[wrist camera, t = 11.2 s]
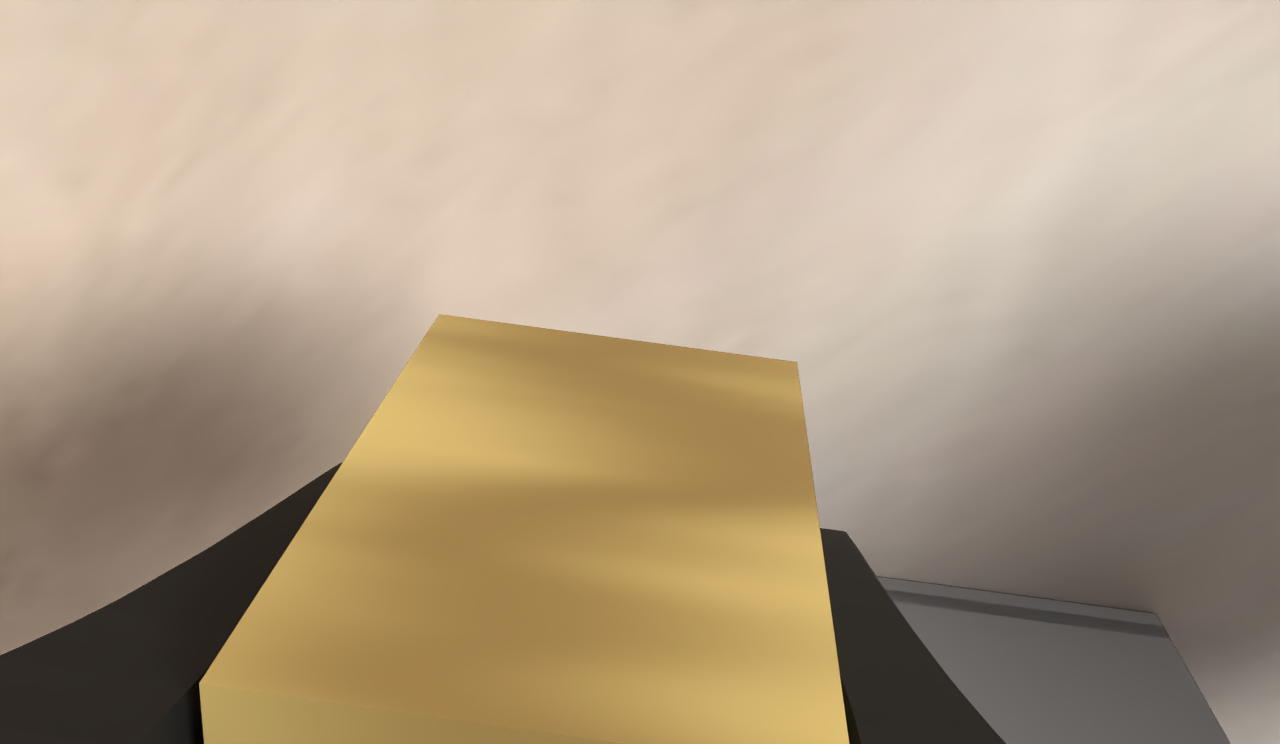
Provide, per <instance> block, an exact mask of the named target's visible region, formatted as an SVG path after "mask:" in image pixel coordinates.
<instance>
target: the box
mask: <svg viewBox="0 0 1280 744" xmlns="http://www.w3.org/2000/svg"><path fill="white" fill-rule="evenodd" d="M876 577H877V576H876ZM877 578H878V580H879V581H880V583H881V584H882V586H883V587H884V588H885V590H886V591H887V593H888V594H889V596H890V597H891V599H892V600H893V602H894V603H895V604H896V606H897V607H898V609H899V610H900V612H901V613H902V615H903V616H904V617H905V619H906V620H907V622H908V623H909V624H910V626H911V627H912V629H913V630H914V631H915V633H916V634H917V635H918V637H919V638H920V639H921V641H922V642H923V643H924V645H925V646H926V647H927V649H928V650H929V651H930V653H931V654H932V655H933V657H934V658H935V659H936V661H937V662H938V663H939V665H940V666H941V667H942V669H943V670H944V671H945V673H946V674H947V675H948V676H949V678H950V679H951V680H952V681H953V683H954V684H955V685H956V686H957V688H958V689H959V690H960V691H961V692H962V693H963V695H964V696H965V697H966V698H967V699H968V700H969V702H970V703H971V704H972V705H973V706H974V707H975V709H976V710H977V711H978V712H979V713H980V714H981V716H982V717H983V718H984V719H985V720H986V721H987V723H988V724H989V725H990V726H991V727H992V728H993V730H994V731H995V732H996V733H997V734H998V735H999V736H1000V737H1001V738H1002V740H1003V741H1004V742H1005V743H1006V744H1231V743H1230V742H1229V740H1228V738H1227V736H1226V735H1225V733H1224V731H1223V729H1222V728H1221V726H1220V724H1219V722H1218V721H1217V719H1216V717H1215V715H1214V714H1213V712H1212V710H1211V708H1210V707H1209V705H1208V703H1207V701H1206V700H1205V698H1204V696H1203V694H1202V693H1201V691H1200V689H1199V688H1198V686H1197V684H1196V682H1195V681H1194V679H1193V677H1192V675H1191V674H1190V672H1189V670H1188V668H1187V667H1186V665H1185V663H1184V661H1183V660H1182V658H1181V656H1180V654H1179V653H1178V651H1177V649H1176V647H1175V646H1174V644H1173V642H1172V640H1171V639H1170V637H1169V635H1168V633H1167V632H1166V630H1165V628H1164V626H1163V625H1162V623H1161V621H1160V620H1159V618H1158V616H1157V614H1153V613H1146V612H1138V611H1131V610H1123V609H1116V608H1109V607H1101V606H1094V605H1086V604H1079V603H1071V602H1064V601H1056V600H1049V599H1041V598H1034V597H1026V596H1019V595H1011V594H1004V593H997V592H989V591H982V590H974V589H967V588H959V587H952V586H944V585H937V584H929V583H922V582H914V581H907V580H900V579H892V578H885V577H877Z"/></svg>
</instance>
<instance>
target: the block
mask: <svg viewBox="0 0 1280 744" xmlns="http://www.w3.org/2000/svg"><path fill="white" fill-rule="evenodd" d="M199 688H200V701H201V713H202V725H203V737H204V744H849V737H848V730H847V723H846V716H845V708H844V701H843V694H842V686H841V679H840V672H839V665H838V657H837V650H836V643H835V635H834V628H833V621H832V614H831V606H830V599H829V592H828V584H827V577H826V570H825V563H824V555H823V548H822V541H821V533H820V526H819V519H818V511H817V504H816V497H815V490H814V482H813V475H812V468H811V460H810V453H809V446H808V439H807V431H806V424H805V417H804V409H803V402H802V395H801V388H800V380H799V373H798V366H797V362H792V361H785V360H777V359H770V358H762V357H755V356H747V355H740V354H732V353H725V352H717V351H710V350H702V349H695V348H687V347H680V346H672V345H665V344H658V343H650V342H643V341H635V340H628V339H620V338H613V337H605V336H598V335H590V334H583V333H575V332H568V331H560V330H553V329H545V328H538V327H530V326H523V325H515V324H508V323H500V322H493V321H485V320H478V319H470V318H463V317H455V316H448V315H441V314H439V315H438V317H437V318H436V320H435V322H434V323H433V325H432V326H431V328H430V329H429V331H428V332H427V334H426V335H425V337H424V338H423V340H422V342H421V343H420V345H419V346H418V348H417V349H416V351H415V352H414V354H413V355H412V357H411V358H410V360H409V362H408V363H407V365H406V366H405V368H404V369H403V371H402V372H401V374H400V375H399V377H398V378H397V380H396V382H395V383H394V385H393V386H392V388H391V389H390V391H389V392H388V394H387V395H386V397H385V398H384V400H383V402H382V403H381V405H380V406H379V408H378V409H377V411H376V412H375V414H374V415H373V417H372V418H371V420H370V421H369V423H368V425H367V426H366V428H365V429H364V431H363V432H362V434H361V435H360V437H359V438H358V440H357V441H356V443H355V445H354V446H353V448H352V449H351V451H350V452H349V454H348V455H347V457H346V458H345V460H344V461H343V463H342V465H341V466H340V468H339V469H338V471H337V472H336V474H335V475H334V477H333V478H332V480H331V481H330V483H329V485H328V486H327V488H326V489H325V491H324V492H323V494H322V495H321V497H320V498H319V500H318V501H317V503H316V505H315V506H314V508H313V509H312V511H311V512H310V514H309V515H308V517H307V518H306V520H305V521H304V523H303V525H302V526H301V528H300V529H299V531H298V532H297V534H296V535H295V537H294V538H293V540H292V541H291V543H290V545H289V546H288V548H287V549H286V551H285V552H284V554H283V555H282V557H281V558H280V560H279V561H278V563H277V565H276V566H275V568H274V569H273V571H272V572H271V574H270V575H269V577H268V578H267V580H266V581H265V583H264V585H263V586H262V588H261V589H260V591H259V592H258V594H257V595H256V597H255V598H254V600H253V601H252V603H251V605H250V606H249V608H248V609H247V611H246V612H245V614H244V615H243V617H242V618H241V620H240V621H239V623H238V625H237V626H236V628H235V629H234V631H233V632H232V634H231V635H230V637H229V638H228V640H227V641H226V643H225V645H224V646H223V648H222V649H221V651H220V652H219V654H218V655H217V657H216V658H215V660H214V661H213V663H212V665H211V666H210V668H209V669H208V671H207V672H206V674H205V675H204V677H203V678H202V680H201V681H200V683H199Z"/></svg>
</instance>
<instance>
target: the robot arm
mask: <svg viewBox="0 0 1280 744" xmlns="http://www.w3.org/2000/svg"><path fill="white" fill-rule="evenodd" d="M342 463H343V462H342ZM342 463H340V464H338V465H337V466H335V467H333V468H332V469H330V470H329V471H327V472H325V473H324V474H322V475H321V476H319V477H318V478H316V479H315V480H313V481H312V482H310V483H309V484H307V485H306V486H304V487H303V488H301V489H300V490H298V491H297V492H295V493H294V494H292V495H291V496H289V497H287V498H286V499H284V500H283V501H281V502H280V503H278V504H277V505H275V506H274V507H272V508H271V509H269V510H268V511H266V512H265V513H263V514H262V515H260V516H258V517H257V518H255V519H254V520H252V521H251V522H249V523H247V524H246V525H244V526H243V527H241V528H240V529H238V530H236V531H235V532H233V533H232V534H230V535H229V536H227V537H225V538H224V539H222V540H221V541H219V542H218V543H216V544H214V545H213V546H211V547H210V548H208V549H206V550H205V551H203V552H201V553H199V554H198V555H196V556H194V557H192V558H191V559H189V560H187V561H185V562H184V563H182V564H180V565H178V566H177V567H175V568H173V569H171V570H170V571H168V572H166V573H164V574H163V575H161V576H159V577H157V578H156V579H154V580H152V581H150V582H149V583H147V584H145V585H143V586H142V587H140V588H138V589H136V590H135V591H133V592H131V593H129V594H128V595H126V596H124V597H122V598H120V599H118V600H116V601H115V602H113V603H111V604H109V605H107V606H105V607H103V608H101V609H99V610H97V611H95V612H93V613H91V614H89V615H87V616H85V617H83V618H81V619H79V620H77V621H75V622H73V623H71V624H69V625H67V626H64V627H62V628H60V629H58V630H56V631H54V632H51V633H49V634H47V635H45V636H43V637H41V638H38V639H36V640H34V641H32V642H30V643H27V644H25V645H23V646H21V647H19V648H17V649H14V650H12V651H10V652H7V653H5V654H3V655H0V744H204V737H203V725H202V713H201V701H200V688H199V683H200V681H201V680H202V678H203V677H204V675H205V674H206V672H207V671H208V669H209V668H210V666H211V665H212V663H213V661H214V660H215V658H216V657H217V655H218V654H219V652H220V651H221V649H222V648H223V646H224V645H225V643H226V641H227V640H228V638H229V637H230V635H231V634H232V632H233V631H234V629H235V628H236V626H237V625H238V623H239V621H240V620H241V618H242V617H243V615H244V614H245V612H246V611H247V609H248V608H249V606H250V605H251V603H252V601H253V600H254V598H255V597H256V595H257V594H258V592H259V591H260V589H261V588H262V586H263V585H264V583H265V581H266V580H267V578H268V577H269V575H270V574H271V572H272V571H273V569H274V568H275V566H276V565H277V563H278V561H279V560H280V558H281V557H282V555H283V554H284V552H285V551H286V549H287V548H288V546H289V545H290V543H291V541H292V540H293V538H294V537H295V535H296V534H297V532H298V531H299V529H300V528H301V526H302V525H303V523H304V521H305V520H306V518H307V517H308V515H309V514H310V512H311V511H312V509H313V508H314V506H315V505H316V503H317V501H318V500H319V498H320V497H321V495H322V494H323V492H324V491H325V489H326V488H327V486H328V485H329V483H330V481H331V480H332V478H333V477H334V475H335V474H336V472H337V471H338V469H339V468H340V466H341V465H342ZM820 533H821V541H822V548H823V555H824V563H825V570H826V577H827V584H828V592H829V599H830V606H831V614H832V621H833V628H834V635H835V643H836V650H837V657H838V665H839V672H840V679H841V686H842V694H843V701H844V708H845V716H846V723H847V730H848V737H849V744H1006V743H1005V742H1004V741H1003V740H1002V738H1001V737H1000V736H999V735H998V734H997V733H996V732H995V731H994V730H993V728H992V727H991V726H990V725H989V724H988V723H987V721H986V720H985V719H984V718H983V717H982V716H981V714H980V713H979V712H978V711H977V710H976V709H975V707H974V706H973V705H972V704H971V703H970V702H969V700H968V699H967V698H966V697H965V696H964V695H963V693H962V692H961V691H960V690H959V689H958V688H957V686H956V685H955V684H954V683H953V681H952V680H951V679H950V678H949V676H948V675H947V674H946V673H945V671H944V670H943V669H942V667H941V666H940V665H939V663H938V662H937V661H936V659H935V658H934V657H933V655H932V654H931V653H930V651H929V650H928V649H927V647H926V646H925V645H924V643H923V642H922V641H921V639H920V638H919V637H918V635H917V634H916V633H915V631H914V630H913V629H912V627H911V626H910V624H909V623H908V622H907V620H906V619H905V617H904V616H903V615H902V613H901V612H900V610H899V609H898V607H897V606H896V604H895V603H894V602H893V600H892V599H891V597H890V596H889V594H888V593H887V591H886V590H885V588H884V587H883V586H882V584H881V583H880V581H879V580H878V578H877V577H876V575H875V574H874V572H873V571H872V569H871V568H870V566H869V565H868V563H867V562H866V560H865V559H864V557H863V556H862V554H861V553H860V551H859V550H858V548H857V547H856V545H855V544H854V543H853V541H852V540H851V538H850V537H849V536H848V534H847V533H846V532H844V531H837V530H830V529H822V528H820Z"/></svg>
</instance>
